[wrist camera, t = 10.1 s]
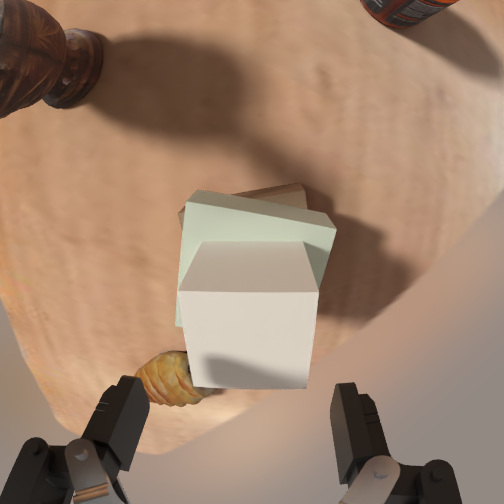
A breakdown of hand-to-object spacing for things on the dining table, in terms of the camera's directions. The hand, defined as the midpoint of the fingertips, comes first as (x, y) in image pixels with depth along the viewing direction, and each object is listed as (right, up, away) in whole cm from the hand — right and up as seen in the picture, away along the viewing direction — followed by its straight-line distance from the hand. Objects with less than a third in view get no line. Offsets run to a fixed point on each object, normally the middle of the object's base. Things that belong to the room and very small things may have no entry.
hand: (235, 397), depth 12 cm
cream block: (+1, +4, +8) cm, 9 cm away
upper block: (+1, +5, +11) cm, 12 cm away
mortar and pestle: (-14, +21, +9) cm, 27 cm away
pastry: (-8, -8, +21) cm, 23 cm away
